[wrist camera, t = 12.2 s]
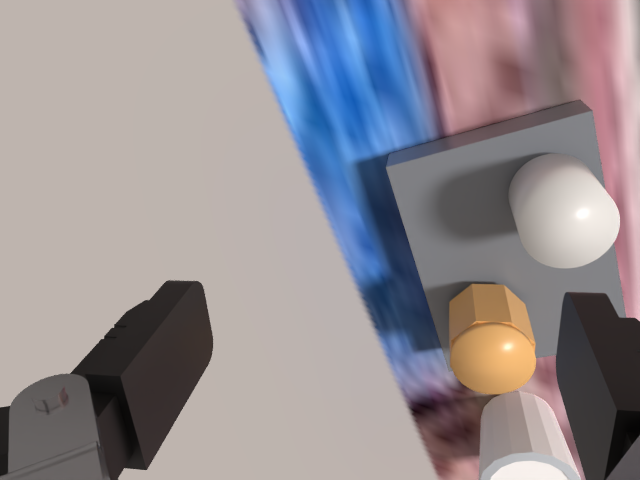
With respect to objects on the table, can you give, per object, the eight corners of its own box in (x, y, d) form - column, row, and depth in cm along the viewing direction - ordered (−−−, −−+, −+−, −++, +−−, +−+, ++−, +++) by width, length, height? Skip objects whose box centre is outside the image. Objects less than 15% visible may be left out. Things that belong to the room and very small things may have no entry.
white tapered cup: (582, 422, 44) (606, 497, 38) (514, 464, 47) (526, 539, 41) (520, 370, 43) (534, 437, 37) (455, 415, 46) (457, 485, 40)
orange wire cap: (449, 283, 37) (451, 325, 32) (526, 285, 36) (539, 329, 32) (448, 343, 39) (449, 391, 34) (521, 347, 38) (532, 396, 34)
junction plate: (389, 153, 38) (377, 199, 30) (580, 99, 34) (621, 136, 26) (448, 346, 43) (450, 427, 36) (617, 318, 40) (660, 401, 32)
